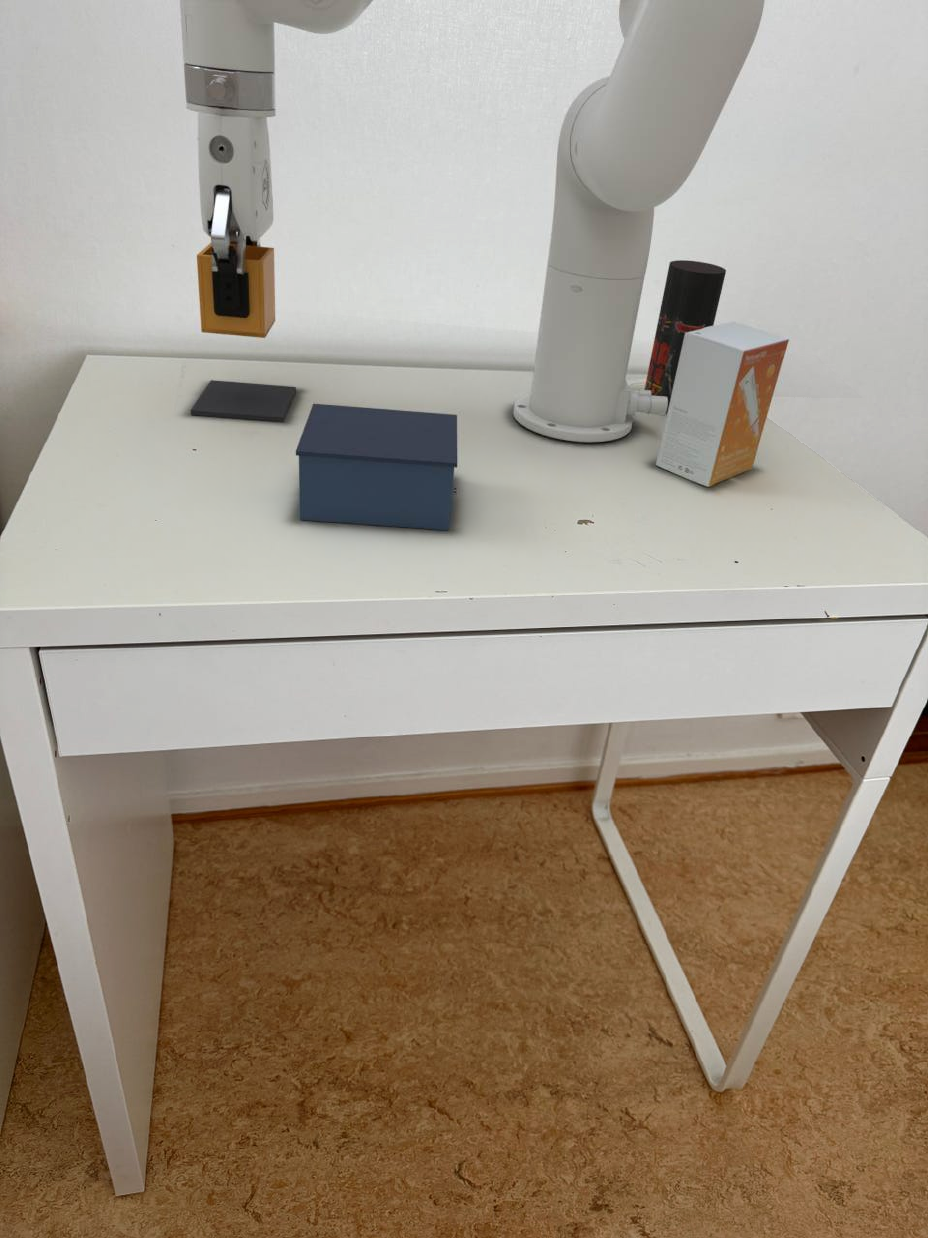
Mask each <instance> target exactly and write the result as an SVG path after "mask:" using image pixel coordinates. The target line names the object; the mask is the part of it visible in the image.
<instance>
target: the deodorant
mask: <svg viewBox="0 0 928 1238" xmlns="http://www.w3.org/2000/svg"><path fill="white" fill-rule="evenodd" d="M726 275H727V270H726V269H725V267H722V266H720V265H717V264H714V263H713V264H712V263H710V262H709V263H708V262H704V261H697V260H688V259H687V260H686V259H685V260H682V259H681V260H680V259H679V260H671V261H670V262H669V265H668V269H667V274H666V280H665V284H664V290H663V294H662V300H661V304H660V309H659V316H658V320H657V324H656V329H655V335H654V338H653V344H652V345H653V346H652V350H651V353H650V354H651V355H650V359H649V364H648V370H647V375H646V380H645V385H644V389H643V390H650V391H651V395H652V396H664V397H667V398H668V406H667V411H666V413H668V408H669V404H670V399H671V394H672V390H673V385H674V381H675V376H676V372H677V367H678V363H679V358H680V354H681V349H682V345H683V340H684V336H685V333H686V332H691V331H695V330H700V329H703V328H705V327H709V326H715V320H716V317H717V311H718V308H719V303H720V299H721V295H722V290H723V286H724V281H725V278H726Z"/></svg>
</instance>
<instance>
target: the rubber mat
mask: <svg viewBox="0 0 928 1238" xmlns="http://www.w3.org/2000/svg"><path fill="white" fill-rule="evenodd" d="M296 393H297V386H290V385H288V386H287V385H275V384H262V383H251V382H239V381H238V382H237V381H227V380H214V379H213V380H210V381H209V382H208V384H206V387H205V388H204V390H203V391H202V393H200V396H199V397H198V399H197V400H196V402H195V403H194V404H193V405H192V408H191V409H190V415H191V416H201V417H214V418H215V417H216V418H227V419H239V420H252V421H255V420H256V421H264V422H265V421H266V422H276V423H277V422H278V423H283V422H284V421H285V419H286V417H287V414H288V411H289V409H290V407H291V404H292V402H293V400H294V397H295V395H296Z"/></svg>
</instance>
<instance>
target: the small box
mask: <svg viewBox="0 0 928 1238" xmlns="http://www.w3.org/2000/svg"><path fill="white" fill-rule="evenodd" d="M789 341H790V338H788V337H784V336H781V335H778V334H774V333H771V332H768V331H765V330H762V329H760V328H755V327H752V326H749V325H746V324H743V323H739V322H737V321H730V322H726V323H721V324H714V325H713V326H709V327H705V328H703V329H700V330H695V331H691V332H686V333H685V336H684V340H683V345H682V349H681V354H680V358H679V363H678V367H677V372H676V376H675V381H674V385H673V390H672V394H671V399H670V404H669V408H668V412H666V418H665V423H664V426H663V431H662V436H661V440H660V445H659V449H658V453H657V458H656V462H655V465H656V466H658V467H659V468H661V469H664V470H666V471H668V472H671V473H673V474H675V475H677V476H679V477H682V478H685V479H687V480H690V481H691V482H694V483H697V484H699V485H702V486H704V487H707V488H710V487H712V486H714V485H716V484H718V483H720V482H723V481H725V480H727V479H730V478H733V477H735V476H737V475H739V474H742V473H745V472H747V471H750V470H752V469H753V467H754V462H755V460H756V455H757V452H758V450H759V449H758V448H759V445H760V442H761V438H762V435H763V431H764V428H765V423H766V422H767V416H768V414H769V411H770V407H771V403H772V401H773V397H774V393H775V389H776V386H777V382H778V379H779V376H780V373H781V369H782V366H783V362H784V358H785V354H786V352H787V348H788V344H789Z"/></svg>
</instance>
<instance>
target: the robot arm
mask: <svg viewBox="0 0 928 1238" xmlns="http://www.w3.org/2000/svg"><path fill="white" fill-rule="evenodd" d="M372 2H374V0H179V8H180V10H179V11H180V24H181V41H182V58H183V63H184V64H183V74H184V88H185V90H184V91H185V105H186V109H187V110H189V111H192V112H197V151H198V154H197V155H198V183H199V185H198V186H199V202H200V216H201V223H202V224H201V225H202V230H203V232H204V233H205V234H206V235H207V236H208V237H209V238H210V243H212V283H213V302H214V313H215V314H216V315H218V316H227V317H238V318H247V317H248V316H249V314H250V306H249V276H248V273H245V248H246V245H249V246H259V247H262V246H261V238H262V237H263V236H264V234H266V232H268V230H269V229H270V228H271V227H272V225H273V223H274V199H273V182H272V163H271V146H270V135H269V127H268V118H274V117H276V112H277V111H276V72H275V71H276V60H275V59H276V58H275V57H276V56H275V23H276V24H280V25H284V26H288V27H291V28H295V29H298V30H302V31H306V32H309V33H312V34H317V35H318V34H319V35H328V34H329V35H330V34H333V33H336V32H339V31H342V30H345V29H346V28H348V27H349V26H351V25H352V24H354V22H356V21H357V20H358V18H359V17H361V15H362V14H363V13H364V12H365V11H366V9H367V8H368V7H369V6H370V5H371V4H372ZM764 7H765V0H619V8H618V20H619V27H620V31H621V34H622V37H623V42H622V45H621V48H620V50H619V52H618V55H617V58H616V60H615V62H614V65H613V67H612V70H611V73H610V75H609V76H606V77H602V78H600V79H597V80H596V81H594V82H592V83H590V84H588V85H587V86H586V87H585V88H583V90H582V91H580V92H579V94H578V95H576V97H575V98H574V100H573V101H572V103H571V104H570V106H569V107H568V109H567V111H566V113H565V116H564V117H563V120H562V123H561V128H560V132H559V136H558V143H557V151H556V165H555V183H554V185H555V186H554V187H555V188H554V202H553V214H552V222H551V223H552V224H551V233H550V241H549V250H548V256H547V257H548V258H547V265H546V271H545V279H544V286H543V287H544V288H543V293H542V294H543V295H542V303H541V309H540V318H539V326H538V333H537V341H536V350H535V358H534V365H533V373H532V380H531V381H532V382H531V387H530V392H529V393H527V394H523V395H521V396H519V397H518V398H517V399H516V400H515V401H514V405H513V417H514V418H515V420H516V421H517V422H518V424H520V425H521V426H523V427H524V428H526V429H528V430H530V431H532V432H533V433H537V434H540V435H542V436H545V437H548V438H553V439H555V440H556V439H557V440H561V441H567V442H577V443H604V442H612V441H615V440H619V439H621V438H624V437H626V435H628V434H629V433H630V432H631V430H632V428H633V421H634V418H633V417H634V416H635V415H636V414H637V413H643V414H647V415H655V416H665V415H667V412H666V411H667V406H668V398H667V397H664V396H652V395H651V391H650V390H644V389H631V388H630V386H629V384H628V382H627V380H626V378H627V373H628V367H629V363H630V357H631V352H632V347H633V340H634V335H635V330H636V324H637V320H638V313H639V309H640V303H641V298H642V294H643V293H642V292H643V287H644V281H645V276H646V273H647V267H648V263H649V256H650V250H651V243H652V238H653V227H654V217H655V208H656V207H658V206H660V205H662V204H664V203H665V202H667V201H668V200H669V199H670V198H672V196H674V195H675V194H676V193H677V192H678V191H679V190H680V189H681V187H683V185H684V183H685V182H686V181H687V179H688V178H689V176H690V175H691V173H692V171H693V170H694V168H695V167H696V164H697V163H698V161H699V159H700V157H701V155H702V153H703V151H704V149H705V147H706V145H707V143H708V141H709V139H710V137H711V135H712V133H713V130H714V128H715V126H716V124H717V121H719V118H720V116H721V113H722V112H723V110H724V107H725V105H726V104H727V102H728V101H727V100H728V99H729V97H730V95H731V93H732V90H733V88H734V86H735V84H736V82H737V79H738V78H739V76H740V73H741V71H742V69H743V67H744V65H745V62H746V60H747V58H748V55H749V53H750V51H751V50H752V47H753V44H754V42H755V39H756V37H757V35H758V31H759V28H760V24H761V20H762V16H763V14H764V13H763V12H764ZM230 244H234V245H237V256H236V250H235V249H234V246H230Z"/></svg>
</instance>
